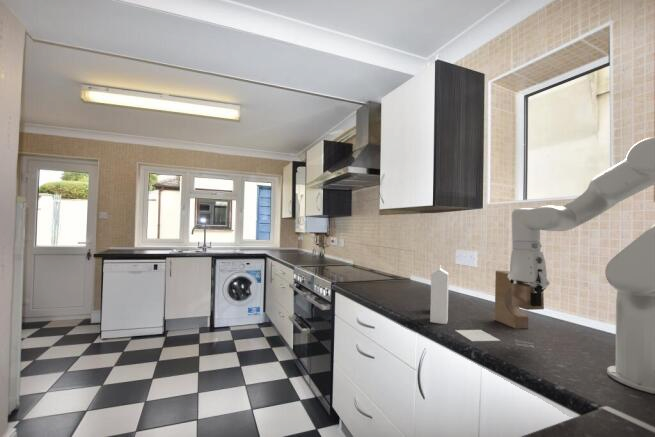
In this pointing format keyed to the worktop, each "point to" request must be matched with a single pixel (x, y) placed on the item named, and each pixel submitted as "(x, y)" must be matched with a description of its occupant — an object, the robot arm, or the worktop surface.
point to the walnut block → (524, 296)
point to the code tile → (524, 345)
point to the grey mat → (477, 335)
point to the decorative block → (507, 303)
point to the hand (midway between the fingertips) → (527, 302)
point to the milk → (439, 296)
